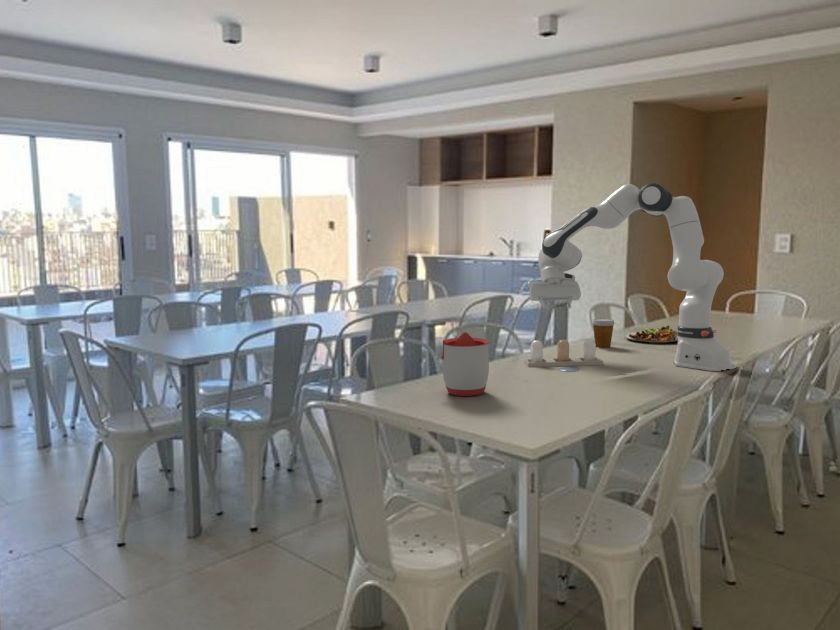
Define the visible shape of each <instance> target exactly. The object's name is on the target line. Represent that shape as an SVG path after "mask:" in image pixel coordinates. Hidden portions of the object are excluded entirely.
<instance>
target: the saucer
mask: <svg viewBox="0 0 840 630" xmlns="http://www.w3.org/2000/svg"><path fill="white" fill-rule="evenodd" d="M556 370H557V371H558V372H563V373H564V372H565V373H576V372H579V371H580V368H577V367H572V366H562V367H557V369H556Z"/></svg>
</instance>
